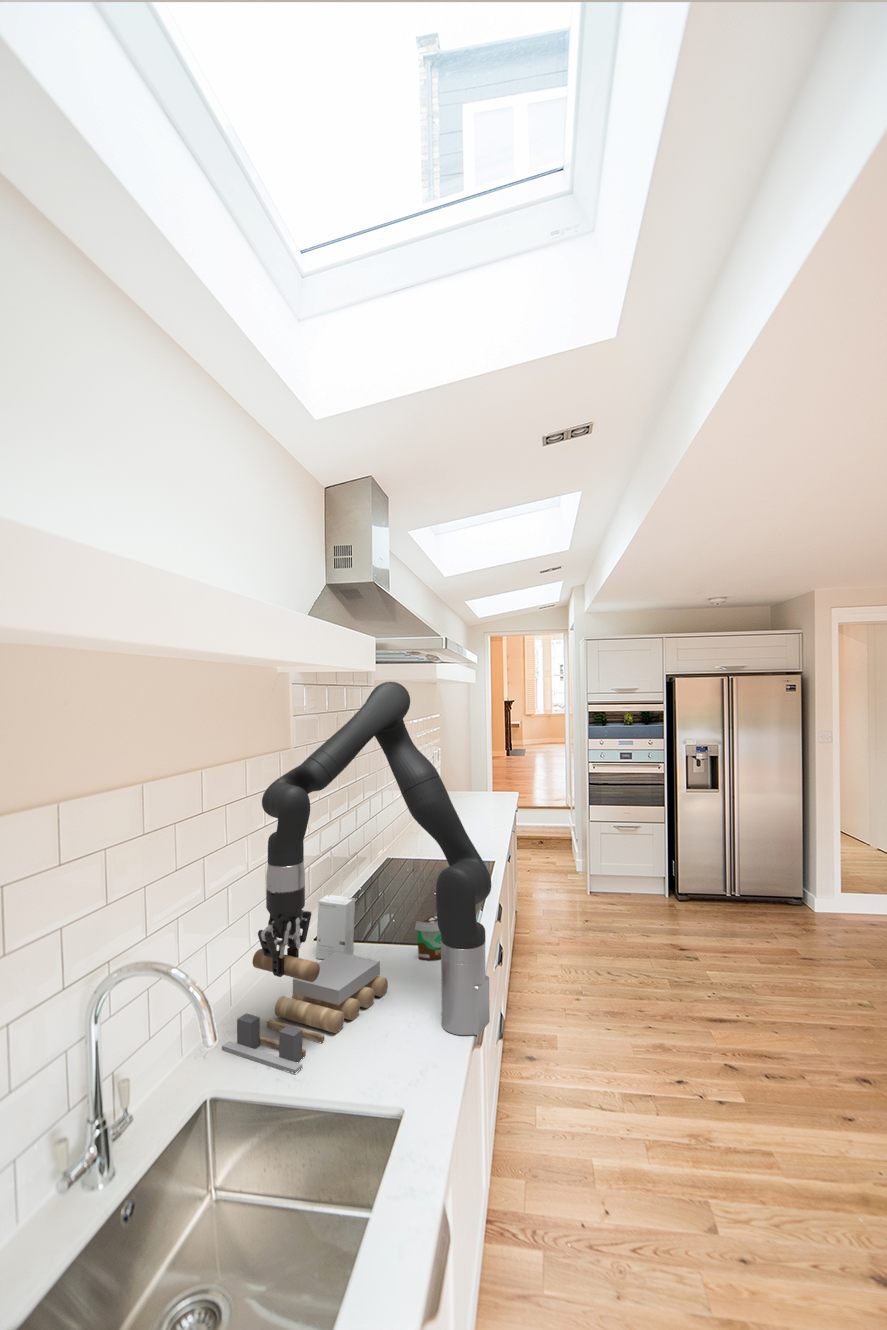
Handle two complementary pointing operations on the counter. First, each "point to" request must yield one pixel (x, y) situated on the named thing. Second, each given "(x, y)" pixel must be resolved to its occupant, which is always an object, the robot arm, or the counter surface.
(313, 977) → the roller
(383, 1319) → the counter surface
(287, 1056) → the bumper posts
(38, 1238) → the counter surface
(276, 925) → the robot arm
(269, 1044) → the roller bed
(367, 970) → the slab
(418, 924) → the food container
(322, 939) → the skincare box
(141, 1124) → the counter surface
